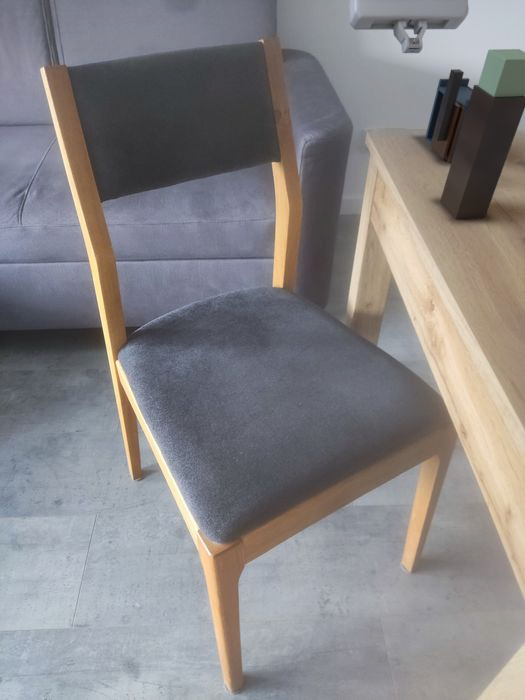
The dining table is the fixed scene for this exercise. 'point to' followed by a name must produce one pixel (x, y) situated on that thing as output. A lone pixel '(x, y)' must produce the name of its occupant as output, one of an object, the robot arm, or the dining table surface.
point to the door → (447, 115)
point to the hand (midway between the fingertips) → (412, 51)
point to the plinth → (481, 153)
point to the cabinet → (463, 102)
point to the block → (504, 73)
